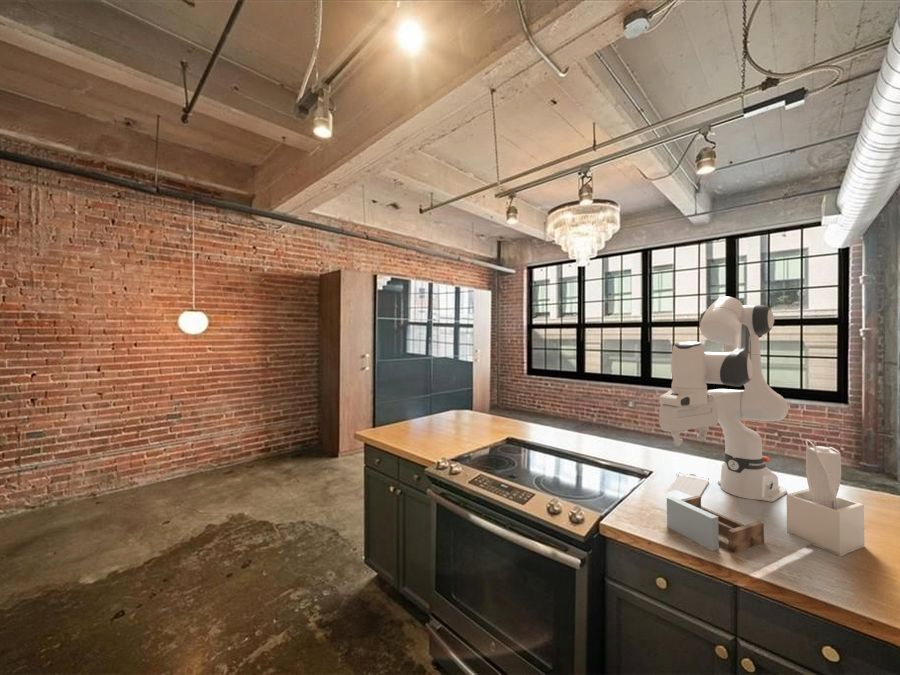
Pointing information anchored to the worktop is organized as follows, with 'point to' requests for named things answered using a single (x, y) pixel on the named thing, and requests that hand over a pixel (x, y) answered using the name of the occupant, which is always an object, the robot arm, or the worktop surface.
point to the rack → (734, 529)
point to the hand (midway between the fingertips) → (690, 443)
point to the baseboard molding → (689, 485)
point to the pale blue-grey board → (693, 523)
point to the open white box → (826, 523)
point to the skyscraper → (823, 474)
